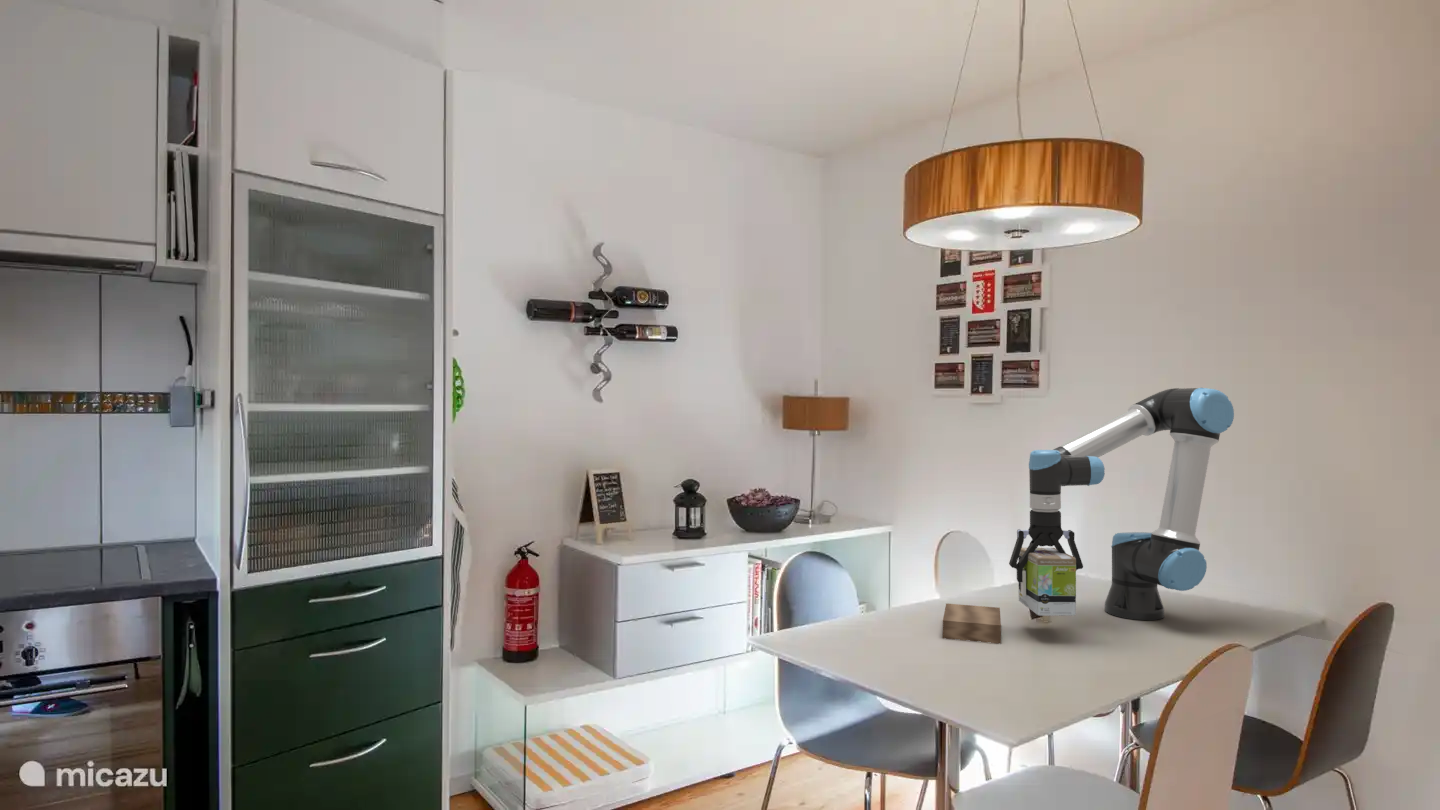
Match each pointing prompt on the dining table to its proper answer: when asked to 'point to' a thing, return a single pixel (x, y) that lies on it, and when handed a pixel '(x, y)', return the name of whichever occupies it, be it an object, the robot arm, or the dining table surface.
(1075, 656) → the dining table surface
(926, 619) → the dining table surface
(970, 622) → the walnut block
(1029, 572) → the tea box
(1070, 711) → the dining table surface
